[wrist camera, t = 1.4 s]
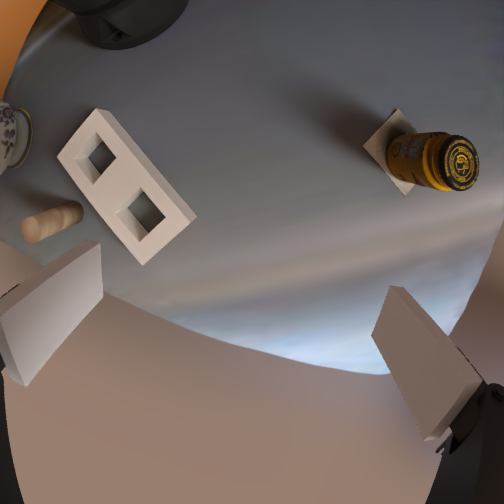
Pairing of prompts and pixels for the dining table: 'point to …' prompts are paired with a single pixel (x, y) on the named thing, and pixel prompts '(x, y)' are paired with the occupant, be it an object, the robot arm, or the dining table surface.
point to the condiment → (423, 157)
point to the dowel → (51, 221)
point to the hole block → (123, 185)
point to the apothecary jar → (14, 136)
